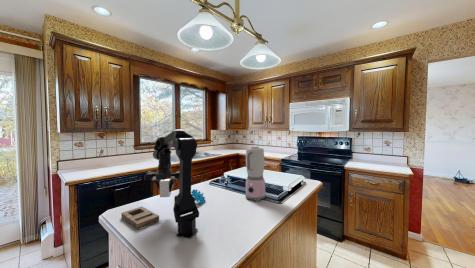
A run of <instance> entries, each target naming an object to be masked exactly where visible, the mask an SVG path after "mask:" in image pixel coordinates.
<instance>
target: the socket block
mask: <svg viewBox="0 0 475 268" xmlns="http://www.w3.org/2000/svg"><path fill="white" fill-rule="evenodd" d="M121 219H123V220H124V221H125V222H126V223H127V224H129V225H130V226H132V227H133V228H135V230H141V229H143V228H145V227H148V226H149V225H153V224H156V223H157V222H160V215H159V214H157V213H155V212H153V211H151V210H149V209H147V208H146V207H144V206H139V207H136V208H133V209H129V210H127V211H123V212H121Z"/></svg>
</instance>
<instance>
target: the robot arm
mask: <svg viewBox="0 0 475 268" xmlns="http://www.w3.org/2000/svg"><path fill="white" fill-rule="evenodd" d="M172 147H173V148H174V151H175V154H176V156H177V157H178V159H179V170H177V171H176V172H172V161H171V160H172V156H171V154H172V151H171V148H172ZM197 148H198V142H197V140H196V139H195V137H193V136H192V135H191V134H189V133H187V132H186V131H185V130H184V129H173V130H171V132H170V133H168V134H167V135H165V136H161V137H160V136H158V137H157V138H156V140H155V142H154V144H153V150H154V151H153V153H152V157H153V158H154V159H155V160H157V161H158V166H157V170H156V171H152V172H151V171H150V172H147V173H145V174H144V181H151V182H154V183H155V184H156V186H157V189H158V192H160V183H159V182H160V181H161V180H165V179H168V178H169V179H170V192H171V193H172V190H173V187H174V185H175V181H177V180H179V182H178V183H179V185H178V186H179V187H178V194H177V195H175V196H174V202H173V203H174V204H173V209H172V210H173V216H174V220H175V224H176V223H177V232H178V233H177V234H176V237H178V238H179V237H180V238H185V239H191V238H192V237H193V236H194V235H195V234H196V233H197V232H198V231H199V229H198V228H197V221H196V219H197V218H199V217H200V211H199V209H198V206H197V204H196V201H195V199H194V196H192V193H191V192H192V171H193V169H192V167H193V158H194V157H195V156H196V154H197Z"/></svg>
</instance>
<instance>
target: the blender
mask: <svg viewBox="0 0 475 268" xmlns="http://www.w3.org/2000/svg"><path fill="white" fill-rule="evenodd" d="M245 168H246V174H247V176H246V179H245V199H246V200H249V199H250V200H255V202H260V200H262V199H265V198H266V197H265V196H266V179H265V178H264V169H265V150H264V148H262V147H260V146H258V145H256V146H255V145H253V146H252V145H251V146H250V147H249V148H245Z"/></svg>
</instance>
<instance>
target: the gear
mask: <svg viewBox="0 0 475 268" xmlns="http://www.w3.org/2000/svg"><path fill="white" fill-rule="evenodd" d="M191 194H192V196H193V197H194V199H195V202H196V203H198V202H199V204H200V205H201V204H205V202H206V197H205V196H204V192H202V193H201V190H198V189H192V190H191Z"/></svg>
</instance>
